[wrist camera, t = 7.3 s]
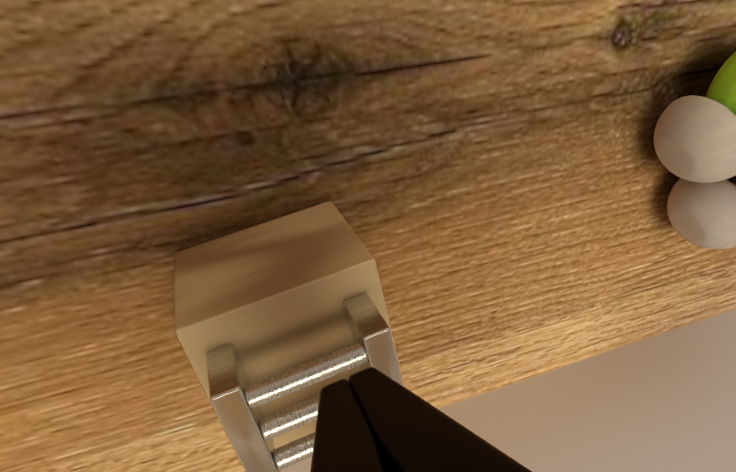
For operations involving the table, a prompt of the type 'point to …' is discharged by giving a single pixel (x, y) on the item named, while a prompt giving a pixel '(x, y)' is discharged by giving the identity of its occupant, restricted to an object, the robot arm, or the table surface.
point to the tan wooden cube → (275, 299)
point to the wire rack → (292, 390)
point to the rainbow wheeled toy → (702, 161)
